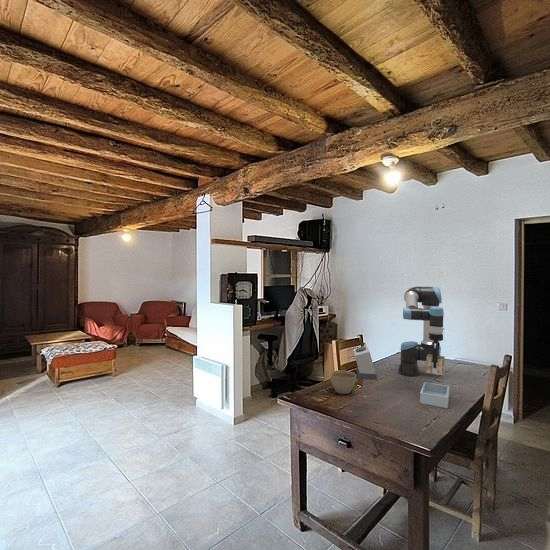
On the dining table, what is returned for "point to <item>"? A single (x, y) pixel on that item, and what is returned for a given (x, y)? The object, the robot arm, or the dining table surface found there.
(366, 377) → the alarm clock
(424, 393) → the light blue crate
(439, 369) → the birch crate
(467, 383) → the dining table surface
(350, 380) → the planter bowl
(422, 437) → the dining table surface
